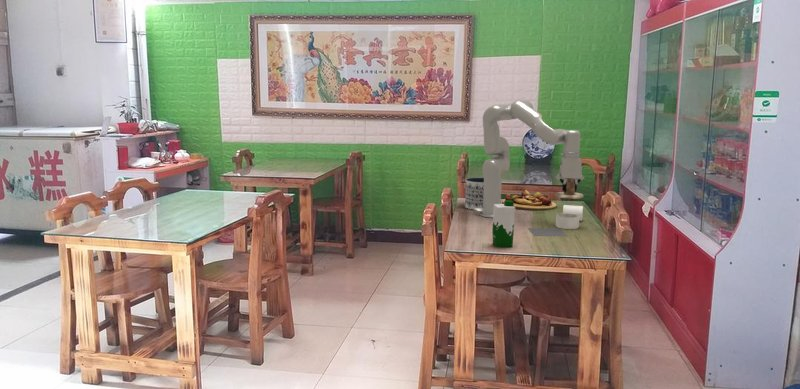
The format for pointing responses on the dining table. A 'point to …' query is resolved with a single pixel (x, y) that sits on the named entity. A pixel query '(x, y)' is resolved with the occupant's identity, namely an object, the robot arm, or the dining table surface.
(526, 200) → the wooden plate with food
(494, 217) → the milk carton
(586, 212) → the dining table surface
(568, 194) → the lid
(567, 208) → the mug
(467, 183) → the planter
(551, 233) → the mat
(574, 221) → the bowl
